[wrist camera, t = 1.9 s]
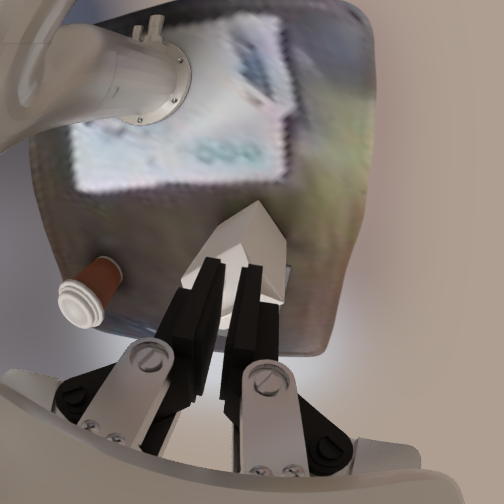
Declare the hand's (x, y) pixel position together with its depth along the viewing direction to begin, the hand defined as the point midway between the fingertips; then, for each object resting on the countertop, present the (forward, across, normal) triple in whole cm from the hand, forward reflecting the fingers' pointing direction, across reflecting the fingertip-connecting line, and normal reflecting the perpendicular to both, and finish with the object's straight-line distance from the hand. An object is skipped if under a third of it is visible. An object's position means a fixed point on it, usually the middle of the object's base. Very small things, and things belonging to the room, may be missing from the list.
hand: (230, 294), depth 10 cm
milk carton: (+27, 0, +10) cm, 29 cm away
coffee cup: (+27, +25, +22) cm, 43 cm away
